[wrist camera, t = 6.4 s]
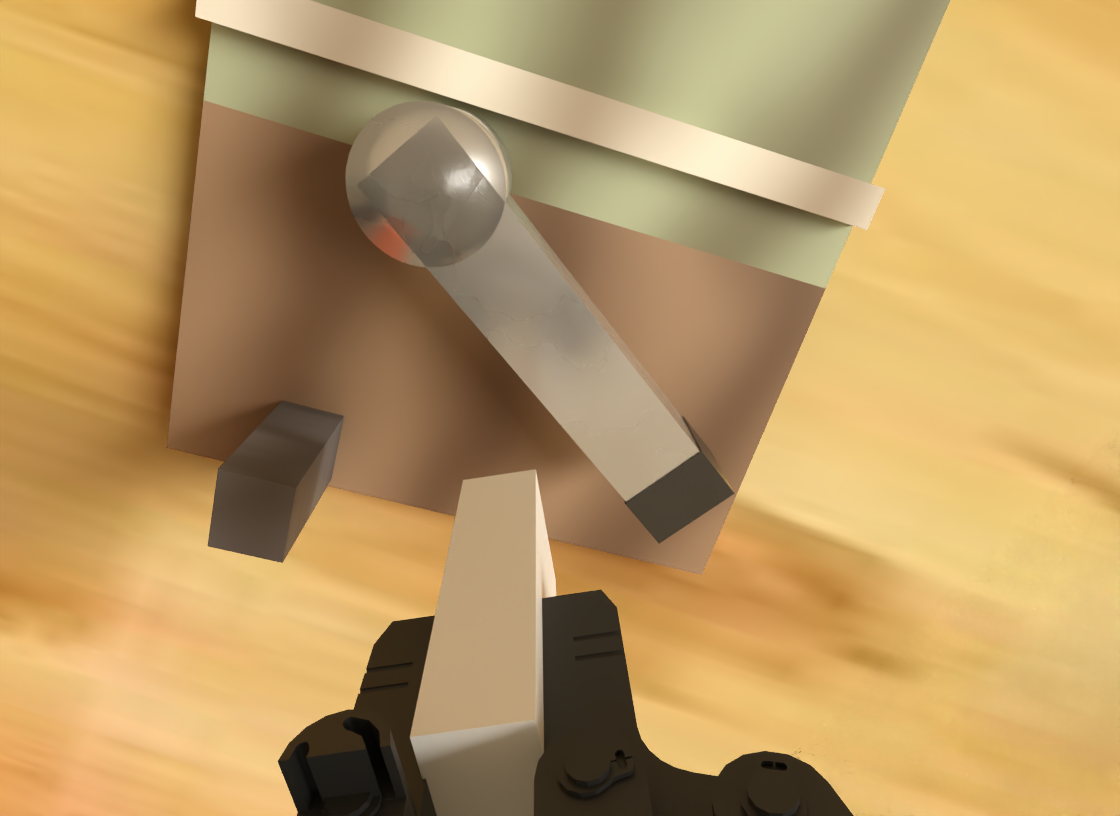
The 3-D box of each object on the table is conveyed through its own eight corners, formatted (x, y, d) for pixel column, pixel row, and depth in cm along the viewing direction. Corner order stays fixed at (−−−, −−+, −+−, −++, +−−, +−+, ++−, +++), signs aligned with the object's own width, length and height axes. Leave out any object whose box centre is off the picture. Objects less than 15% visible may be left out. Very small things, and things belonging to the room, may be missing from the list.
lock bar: (359, 163, 20) (310, 173, 16) (455, 78, 19) (432, 63, 15) (623, 478, 24) (642, 554, 20) (711, 416, 23) (751, 481, 19)
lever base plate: (187, 429, 25) (75, 526, 19) (280, -369, 17) (142, -638, 11) (693, 552, 27) (737, 672, 21) (967, -98, 20) (1157, -199, 14)
